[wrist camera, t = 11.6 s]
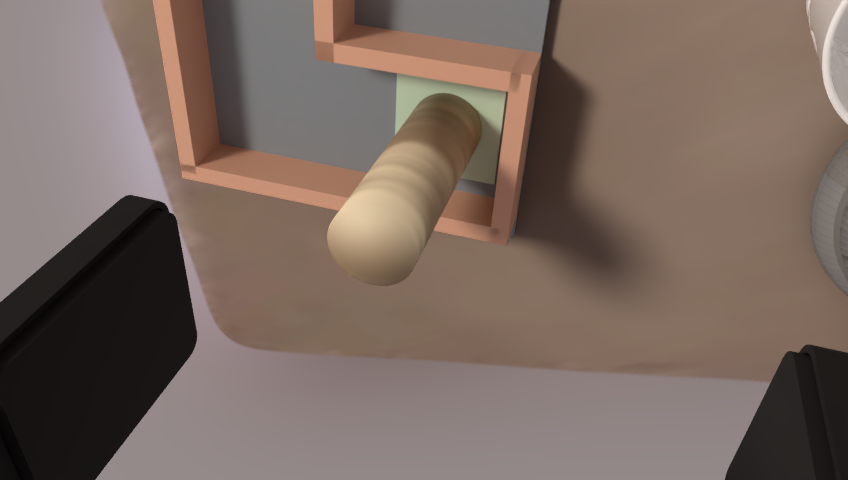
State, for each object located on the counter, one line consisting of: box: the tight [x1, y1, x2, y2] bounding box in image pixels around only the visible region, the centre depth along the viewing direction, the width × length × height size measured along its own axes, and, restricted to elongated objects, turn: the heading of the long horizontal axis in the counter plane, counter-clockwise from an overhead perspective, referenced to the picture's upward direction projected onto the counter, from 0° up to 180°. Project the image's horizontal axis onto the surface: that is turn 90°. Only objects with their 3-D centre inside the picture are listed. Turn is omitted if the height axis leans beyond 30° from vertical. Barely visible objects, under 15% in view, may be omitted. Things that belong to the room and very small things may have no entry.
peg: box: [327, 93, 482, 286], centre depth 36 cm, size 4×4×12 cm
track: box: [153, 0, 551, 246], centre depth 38 cm, size 23×20×4 cm
